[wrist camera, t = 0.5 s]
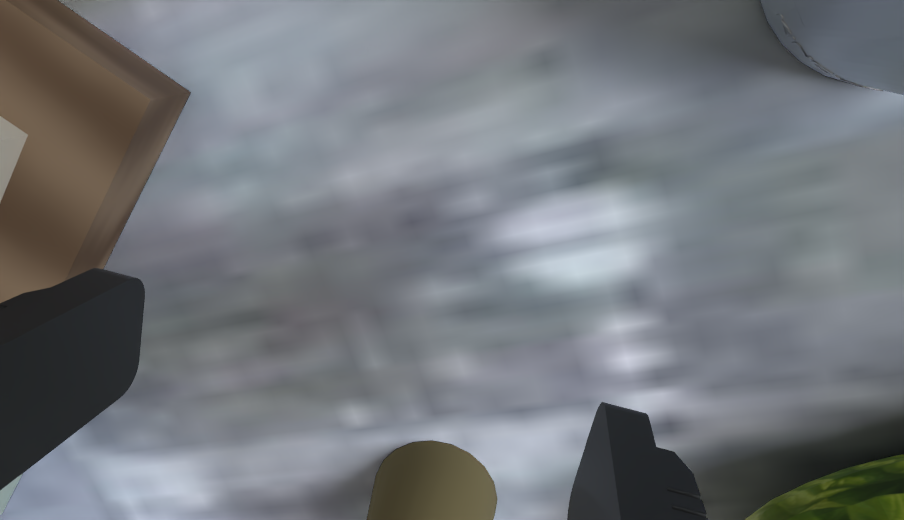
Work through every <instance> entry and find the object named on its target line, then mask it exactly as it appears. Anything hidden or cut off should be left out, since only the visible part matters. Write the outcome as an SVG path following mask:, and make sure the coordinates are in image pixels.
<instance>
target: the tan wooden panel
mask: <svg viewBox="0 0 904 520" xmlns="http://www.w3.org/2000/svg"><path fill="white" fill-rule="evenodd" d="M190 93H191V92H189V91H188V90H187V89H185V88H184V87H182V86H181V85H179V84H178V83H176V82H175V81H174V80H172V79H171V78H169V77H168V76H166V75H165V74H163V73H162V72H161V71H159V70H158V69H156V68H155V67H153V66H152V65H150V64H149V63H147V62H146V61H145V60H143V59H142V58H140V57H139V56H137V55H136V54H134V53H133V52H132V51H130V50H129V49H127V48H126V47H124V46H123V45H121V44H120V43H119V42H117V41H116V40H114V39H113V38H111V37H110V36H108V35H107V34H105V33H104V32H103V31H101V30H100V29H98V28H97V27H95V26H94V25H92V24H91V23H90V22H88V21H87V20H85V19H84V18H82V17H81V16H79V15H78V14H77V13H75V12H74V11H72V10H71V9H69V8H68V7H66V6H65V5H63V4H62V3H61V2H59V1H58V0H0V116H1V117H2V118H4V119H5V120H7V121H8V122H10V123H11V124H13V125H14V126H16V127H17V128H19V129H20V130H22V131H23V132H25V133H26V134H28V136H27V139H26V141H25V144H24V146H23V148H22V151H21V153H20V156H19V158H18V161H17V163H16V166H15V168H14V170H13V173H12V175H11V178H10V180H9V183H8V185H7V187H6V190H5V192H4V195H3V197H2V200H1V202H0V303H2V302H4V301H6V300H9V299H11V298H13V297H15V296H18V295H20V294H22V293H25V292H30V291H35V290H40V289H45V288H50V287H52V286H55V285H57V284H59V283H61V282H64V281H66V280H68V279H70V278H72V277H75V276H77V275H79V274H81V273H84V272H86V271H88V270H90V269H93V268H100V269H104V267H105V265H106V262H107V260H108V258H109V256H110V254H111V252H112V250H113V248H114V246H115V244H116V242H117V240H118V238H119V236H120V234H121V232H122V230H123V228H124V226H125V224H126V222H127V220H128V218H129V216H130V214H131V212H132V210H133V208H134V206H135V204H136V202H137V200H138V198H139V196H140V194H141V192H142V190H143V188H144V186H145V184H146V182H147V180H148V178H149V176H150V174H151V172H152V170H153V168H154V166H155V164H156V162H157V160H158V158H159V156H160V154H161V152H162V150H163V148H164V146H165V144H166V142H167V140H168V138H169V135H170V133H171V131H172V129H173V127H174V125H175V123H176V121H177V119H178V117H179V115H180V113H181V111H182V109H183V107H184V105H185V103H186V101H187V99H188V97H189V95H190Z"/></svg>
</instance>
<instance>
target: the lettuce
mask: <svg viewBox="0 0 904 520" xmlns="http://www.w3.org/2000/svg"><path fill="white" fill-rule="evenodd" d="M745 520H904V454H902V455H897V456H892V457H887V458H883V459H879V460H876V461H872V462H868V463H864V464H860V465H856V466H853V467H849V468H845V469H842V470H840V471H837V472H834V473H832V474H829V475H826V476H824V477H821V478H818V479H816V480H813V481H810V482H808V483H805V484H803V485H801V486H799V487H797V488H795V489H793V490H791V491H789V492H787V493H784V494H782V495H780V496H778V497H776V498H774V499H772V500H770V501H769V502H768V503H766V504H765V505H764V506H762V507H761V508H760V509H758V510H757V511H755V512H754V513H753V514H751V515H750V516H749V517H747V518H746V519H745Z"/></svg>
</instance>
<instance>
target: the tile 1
mask: <svg viewBox="0 0 904 520" xmlns="http://www.w3.org/2000/svg"><path fill="white" fill-rule="evenodd" d="M27 136H28V134H26V133H25V132H23V131H22V130H20V129H19V128H17V127H16V126H14V125H13V124H11V123H10V122H8V121H7V120H5V119H4V118H2V117H1V116H0V202H1V200H2V197H3V195H4V192H5V190H6V187H7V185H8V183H9V180H10V178H11V175H12V173H13V170H14V168H15V166H16V163H17V161H18V158H19V156H20V153H21V151H22V148H23V146H24V144H25V141H26V139H27Z"/></svg>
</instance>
